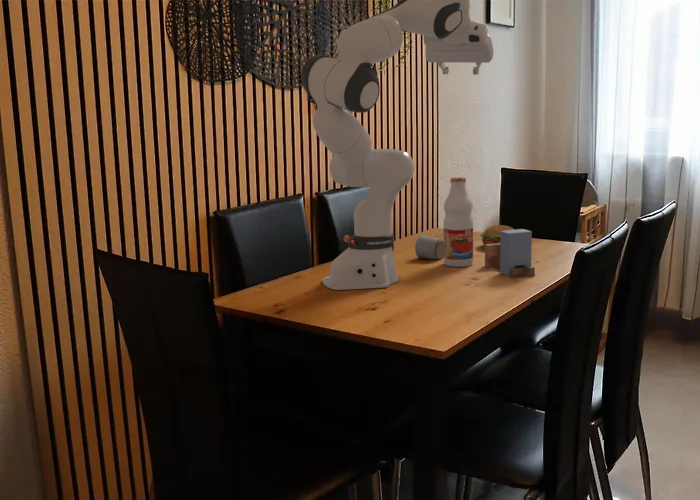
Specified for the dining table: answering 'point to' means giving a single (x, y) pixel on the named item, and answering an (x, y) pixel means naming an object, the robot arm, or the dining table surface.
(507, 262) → the block
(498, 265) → the rail
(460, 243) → the fruit juice
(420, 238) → the ceramic mug
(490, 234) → the food
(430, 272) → the dining table surface
